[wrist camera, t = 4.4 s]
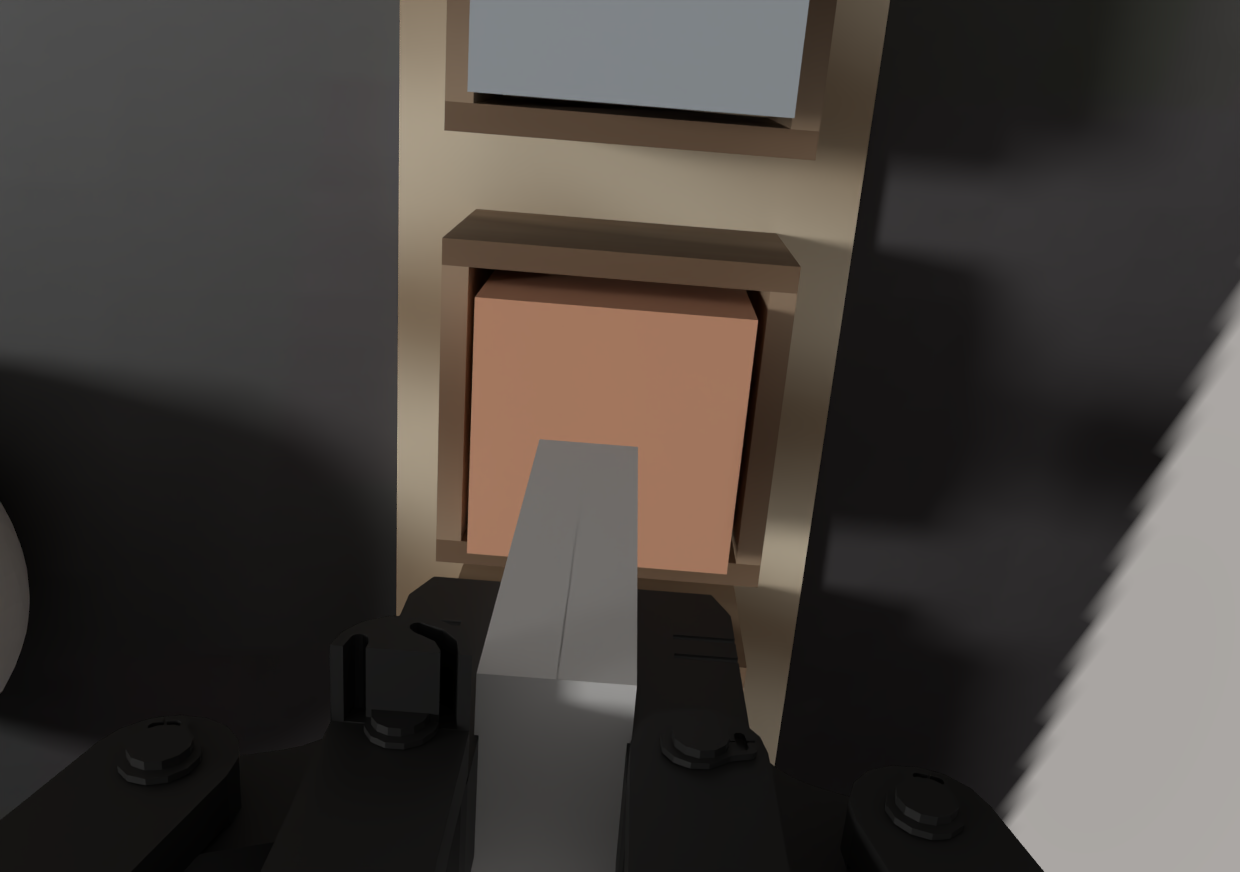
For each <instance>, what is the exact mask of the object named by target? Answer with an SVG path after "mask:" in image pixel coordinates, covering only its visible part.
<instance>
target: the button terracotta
mask: <svg viewBox="0 0 1240 872" xmlns="http://www.w3.org/2000/svg"><path fill="white" fill-rule="evenodd" d="M757 325H758V319H757V316H756V314H755V311H754V309H753V307H752V304H751V302H750V299H749V297H748V294H747V292H746V290H743V289H731V288H719V287H707V286H694V285H682V284H670V283H658V282H645V281H633V280H621V279H609V278H596V277H584V276H572V275H560V274H547V273H535V272H523V271H511V270H498V269H495V271H494V272H493V273H492V275H491V276H490V277H489V279H488V280H487V281H486V283H485V284H484V285H483V287H482V288H481V289H480V291H479V292H478V293H477V295H476V296H475V307H474V340H473V372H472V405H471V437H470V470H469V502H468V535H467V553H470V554H482V555H494V556H506V557H508V554H509V551H510V547H511V543H512V540H513V536H514V532H515V529H516V525H517V521H518V517H519V514H520V510H521V506H522V503H523V499H524V495H525V491H526V488H527V484H528V480H529V477H530V473H531V469H532V465H533V462H534V458H535V454H536V451H537V447H538V443H539V439H543V440H556V441H569V442H582V443H594V444H607V445H620V446H633V447H638V539H637V567H641V568H653V569H666V570H678V571H690V572H702V573H715V574H727V568H728V560H729V552H730V544H731V536H732V528H733V519H734V511H735V503H736V495H737V487H738V479H739V471H740V463H741V455H742V447H743V439H744V430H745V422H746V414H747V406H748V398H749V390H750V382H751V374H752V366H753V358H754V350H755V341H756V333H757Z"/></svg>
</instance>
